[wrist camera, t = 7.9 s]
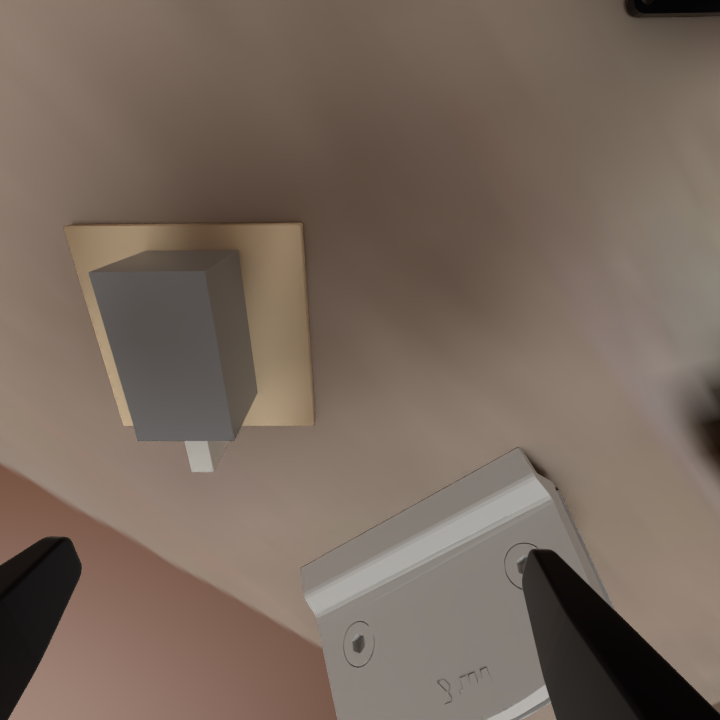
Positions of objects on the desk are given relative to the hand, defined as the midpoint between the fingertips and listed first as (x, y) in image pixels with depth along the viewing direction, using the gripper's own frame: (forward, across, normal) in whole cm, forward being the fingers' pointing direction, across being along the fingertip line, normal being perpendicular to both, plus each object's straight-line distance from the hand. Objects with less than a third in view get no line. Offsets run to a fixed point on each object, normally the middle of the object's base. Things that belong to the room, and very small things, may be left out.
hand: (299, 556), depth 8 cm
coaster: (+13, +6, 0) cm, 14 cm away
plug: (+10, +8, +1) cm, 13 cm away
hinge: (+13, -6, +15) cm, 21 cm away
